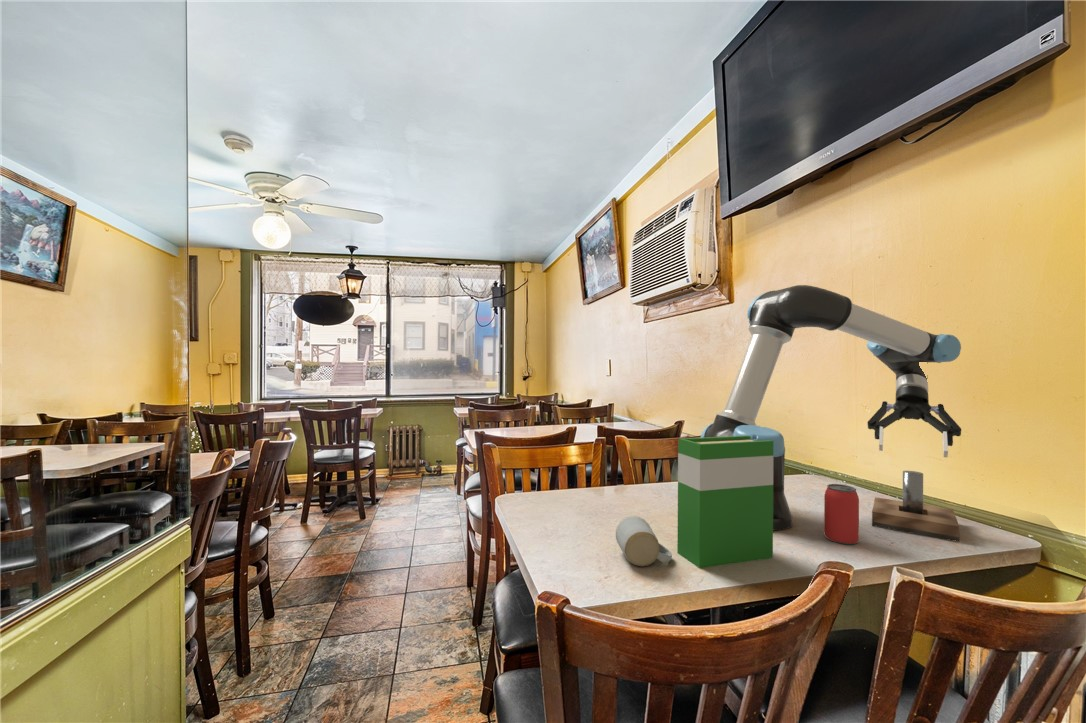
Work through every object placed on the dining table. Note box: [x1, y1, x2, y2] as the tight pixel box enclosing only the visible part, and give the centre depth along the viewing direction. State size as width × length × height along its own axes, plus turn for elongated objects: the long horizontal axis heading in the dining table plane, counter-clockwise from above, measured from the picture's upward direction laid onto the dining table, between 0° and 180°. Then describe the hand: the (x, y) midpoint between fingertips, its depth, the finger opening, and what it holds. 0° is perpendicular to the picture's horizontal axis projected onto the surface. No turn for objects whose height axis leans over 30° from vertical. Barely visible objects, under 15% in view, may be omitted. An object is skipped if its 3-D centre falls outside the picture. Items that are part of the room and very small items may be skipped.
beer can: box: [823, 483, 860, 545], centre depth 103 cm, size 7×7×12 cm
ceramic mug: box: [615, 515, 673, 567], centre depth 92 cm, size 11×8×8 cm
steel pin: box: [902, 470, 924, 515], centre depth 114 cm, size 4×4×12 cm
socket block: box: [871, 496, 960, 542], centre depth 114 cm, size 16×16×4 cm
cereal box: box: [676, 436, 774, 569], centre depth 94 cm, size 18×7×24 cm, turn 107°
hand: (912, 451), depth 122 cm, fingers open, 13 cm apart
